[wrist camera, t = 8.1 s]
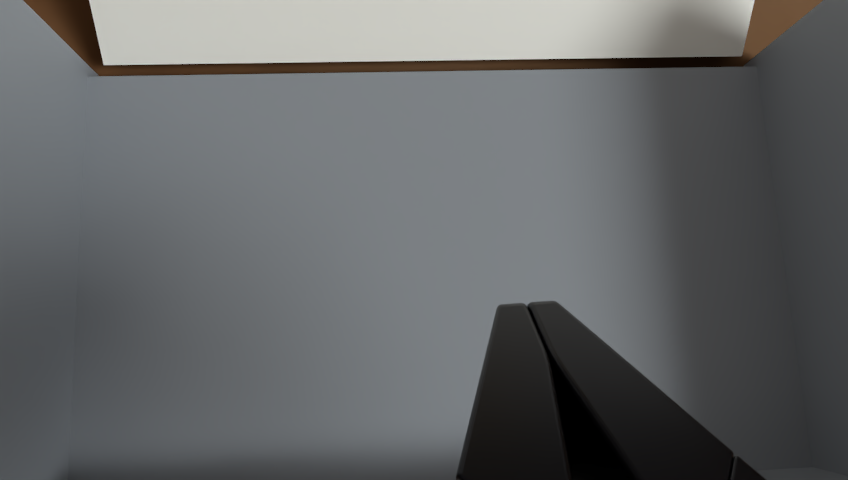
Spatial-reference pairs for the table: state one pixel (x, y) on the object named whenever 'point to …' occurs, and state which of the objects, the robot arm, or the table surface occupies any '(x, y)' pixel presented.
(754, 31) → the table surface
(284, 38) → the flap
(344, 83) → the carton
